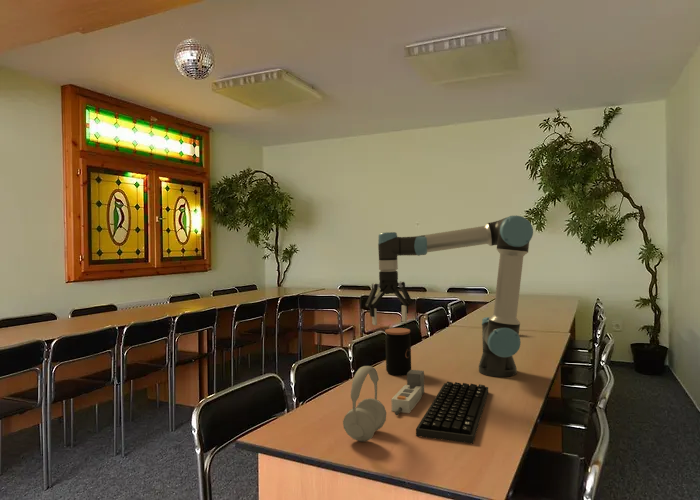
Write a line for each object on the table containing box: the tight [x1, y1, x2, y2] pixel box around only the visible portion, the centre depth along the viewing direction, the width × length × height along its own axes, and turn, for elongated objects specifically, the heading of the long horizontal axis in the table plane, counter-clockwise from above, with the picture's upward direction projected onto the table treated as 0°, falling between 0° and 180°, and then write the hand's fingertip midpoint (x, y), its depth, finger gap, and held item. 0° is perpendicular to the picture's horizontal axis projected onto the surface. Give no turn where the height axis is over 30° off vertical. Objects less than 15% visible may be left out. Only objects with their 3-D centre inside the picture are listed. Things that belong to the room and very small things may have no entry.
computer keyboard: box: [415, 381, 489, 444], centre depth 152 cm, size 45×16×4 cm, turn 158°
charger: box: [406, 369, 425, 396], centre depth 169 cm, size 5×9×8 cm, turn 157°
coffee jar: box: [384, 327, 412, 376], centre depth 199 cm, size 11×11×18 cm
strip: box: [390, 384, 423, 416], centre depth 158 cm, size 6×20×5 cm, turn 157°
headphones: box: [342, 365, 387, 442], centre depth 135 cm, size 19×9×20 cm, turn 157°
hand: (389, 323), depth 189 cm, fingers open, 13 cm apart
